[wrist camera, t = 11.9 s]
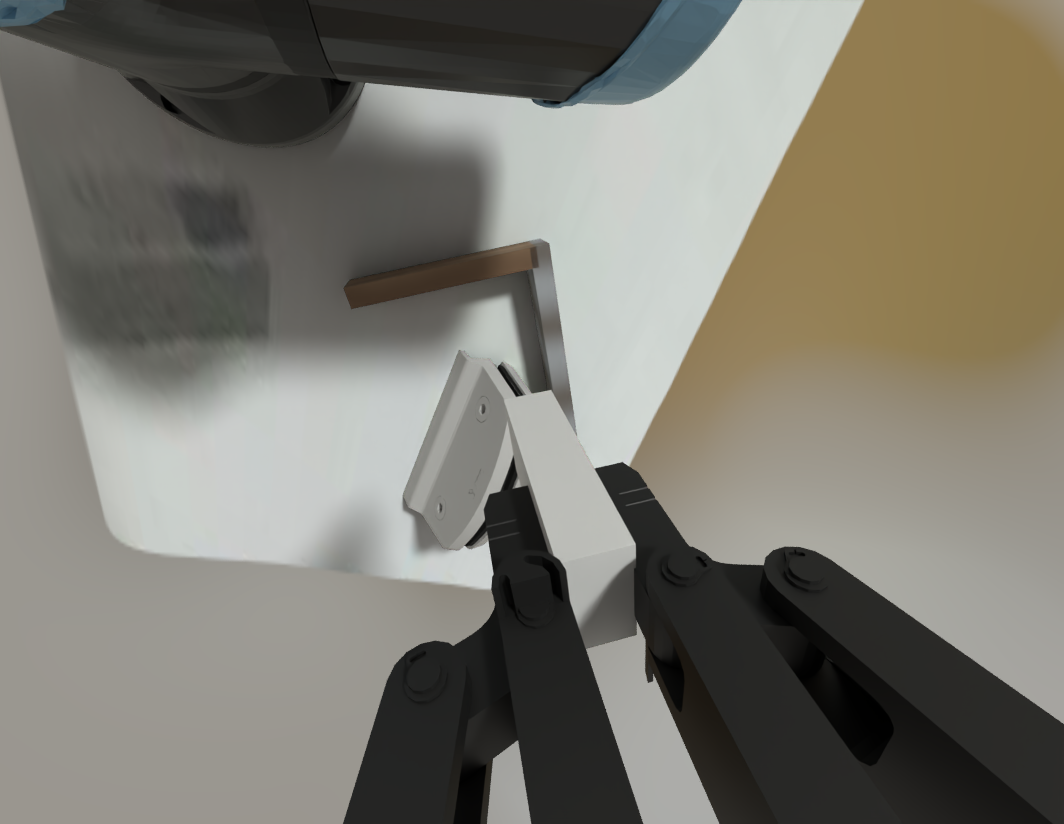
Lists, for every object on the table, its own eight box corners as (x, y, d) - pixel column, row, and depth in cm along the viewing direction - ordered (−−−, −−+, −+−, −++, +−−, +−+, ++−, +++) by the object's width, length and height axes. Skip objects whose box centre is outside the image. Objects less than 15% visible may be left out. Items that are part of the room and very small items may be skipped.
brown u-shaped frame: (350, 279, 34) (343, 288, 31) (540, 238, 35) (549, 243, 33) (439, 522, 46) (439, 542, 43) (577, 484, 47) (586, 502, 45)
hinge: (460, 345, 38) (515, 406, 31) (505, 356, 41) (564, 413, 34) (401, 498, 44) (436, 578, 37) (444, 497, 47) (484, 571, 40)
